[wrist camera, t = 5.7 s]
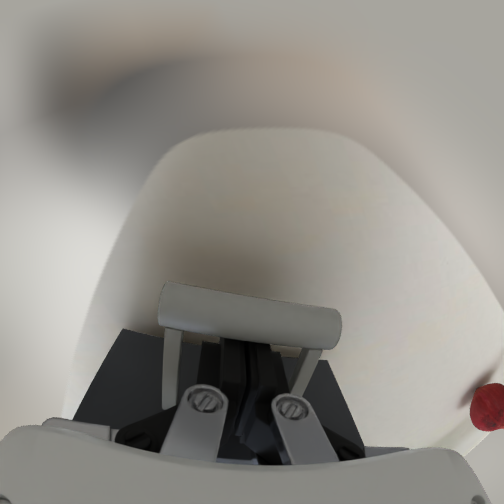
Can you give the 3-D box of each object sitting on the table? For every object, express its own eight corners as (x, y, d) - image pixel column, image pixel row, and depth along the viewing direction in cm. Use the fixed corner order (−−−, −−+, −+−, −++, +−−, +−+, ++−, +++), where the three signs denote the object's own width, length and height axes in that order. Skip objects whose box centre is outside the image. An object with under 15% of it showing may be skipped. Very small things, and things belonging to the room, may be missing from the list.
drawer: (125, 229, 13) (38, 291, 6) (361, 273, 14) (440, 351, 7) (134, 445, 18) (118, 510, 11) (272, 463, 20) (281, 528, 13)
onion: (451, 410, 22) (481, 453, 15) (475, 374, 21) (512, 416, 13) (476, 401, 23) (504, 437, 15) (498, 368, 21) (531, 403, 14)
